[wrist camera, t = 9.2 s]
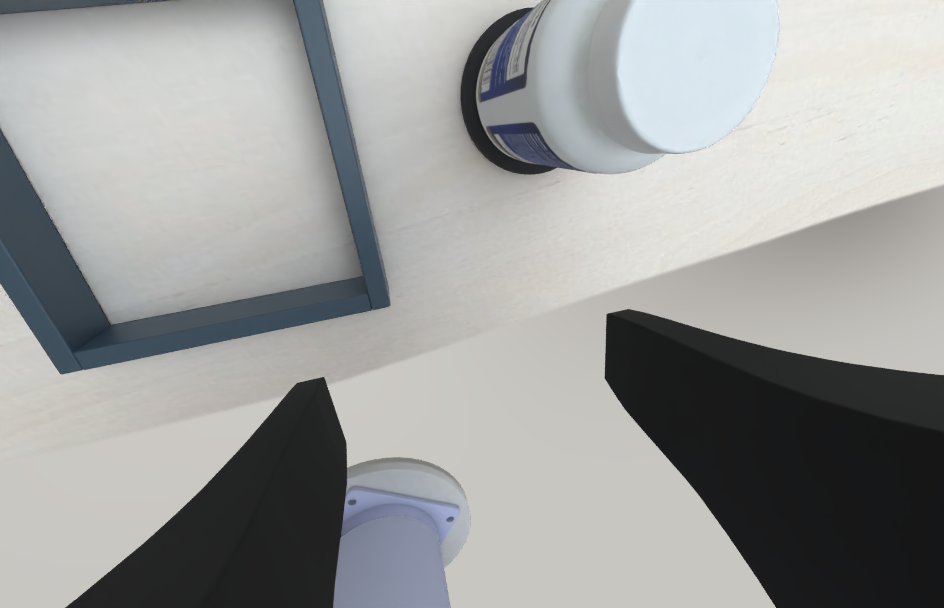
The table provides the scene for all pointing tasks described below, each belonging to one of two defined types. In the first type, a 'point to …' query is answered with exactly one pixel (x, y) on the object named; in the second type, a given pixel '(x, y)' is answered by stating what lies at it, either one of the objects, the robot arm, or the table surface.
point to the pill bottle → (624, 79)
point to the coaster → (470, 102)
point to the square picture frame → (98, 344)
